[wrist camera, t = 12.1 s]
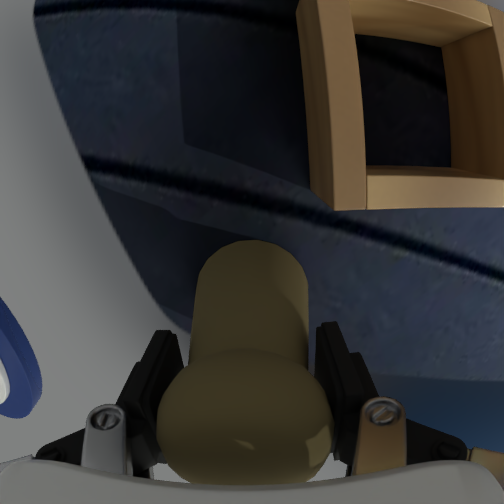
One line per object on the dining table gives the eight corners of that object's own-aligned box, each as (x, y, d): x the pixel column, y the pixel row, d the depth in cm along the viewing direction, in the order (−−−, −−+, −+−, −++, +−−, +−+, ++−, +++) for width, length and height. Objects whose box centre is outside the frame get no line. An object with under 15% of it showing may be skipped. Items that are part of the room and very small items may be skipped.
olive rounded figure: (331, 288, 17) (401, 458, 6) (257, 357, 18) (253, 527, 8) (246, 215, 16) (220, 354, 5) (174, 296, 17) (96, 460, 7)
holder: (310, 190, 15) (333, 211, 11) (295, 12, 12) (310, -36, 8) (465, 189, 15) (522, 207, 10) (453, 33, 12) (504, 12, 7)
